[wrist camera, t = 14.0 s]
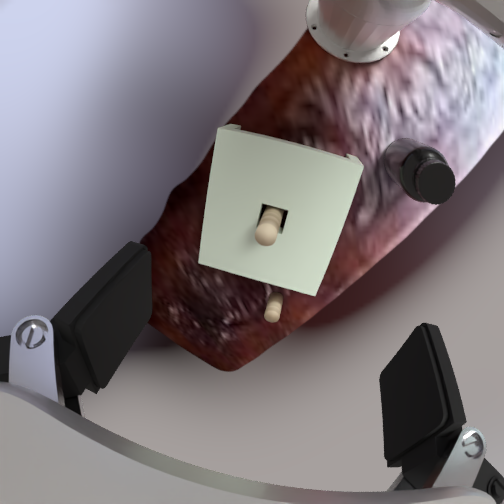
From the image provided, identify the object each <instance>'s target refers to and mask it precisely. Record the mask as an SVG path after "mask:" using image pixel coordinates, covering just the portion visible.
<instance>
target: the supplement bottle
mask: <svg viewBox="0 0 504 504" xmlns="http://www.w3.org/2000/svg"><path fill="white" fill-rule="evenodd" d="M384 164H385V169H386V171H387V173H388V175H389V176H390V177H391V179H392V180H393V181H394V182H395V183H396V184H397V185H398V186H399V187H400V188H401V189H402V190H403V191H404V192H405V193H406V194H407V195H408V196H409V197H410V198H412V199H413V200H415V201H418V202H428V203H431V204H435V205H437V204H441V203H444V202H446V201H447V200H448V199H449V198H450V197H451V196H452V193H453V192H454V189H455V176H454V174H453V171H452V170H451V168H450V167H449V166H448V163H447V161H446V159H445V157H444V156H443V155H442V154H441V153H440V152H439V151H438V150H436V149H434V148H432V147H430V146H428V145H425V144H423V143H420V142H418V141H415V140H413V139H409V138H401V139H398V140H396V141H394V142H393V143H392V144H391V145H390V146H389V147H388V149H387V150H386V153H385V157H384Z"/></svg>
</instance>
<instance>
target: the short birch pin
mask: <svg viewBox="0 0 504 504" xmlns="http://www.w3.org/2000/svg"><path fill="white" fill-rule="evenodd" d="M282 303H283V295H282V294H281V293H279V292H273V293H271V294H270V296H269V299H268V303H267V307H266V311H265V314H264V318H265V319H266V320H267V321H269V322H276V321H278V320H279V317H280V312H281V307H282Z"/></svg>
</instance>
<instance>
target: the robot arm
mask: <svg viewBox="0 0 504 504" xmlns="http://www.w3.org/2000/svg"><path fill="white" fill-rule="evenodd" d="M435 1H436V2H438V3H440V4H442V5H445V6H446V7H448V8H450V9H451V10H453V11H454V12H456V13H457V14H459V15H460V16H462V17H463V18H464V19H466V20H467V21H469V22H470V23H471V24H473V25H474V26H476V27H477V28H478V29H480V30H481V31H482V32H483V33H485V34H486V35H487V36H488V37H490V38H491V39H492V40H493V41H495V42H496V43H497V44H498V45H499V46H501V47H502V48H503V49H504V0H435ZM430 3H431V0H310V1H309V3H308V6H307V9H306V22H307V27H308V29H309V32H310V34H311V36H312V37H313V39H314V40H315V41H316V43H317V44H318V45H319V46H320V47H321V48H322V49H324V50H325V51H326V52H328V53H329V54H331V55H333V56H335V57H336V58H339V59H341V60H344V61H348V62H353V63H369V62H374V61H377V60H380V59H382V58H384V57H385V56H387V55H388V54H390V53H391V52H392V50H393V49H394V48H395V47H396V44H397V42H398V40H399V35H400V30H401V29H403V28H404V27H406V26H407V25H408V24H410V23H411V22H413V21H414V20H415V19H416V18H418V17H419V16H420V15H422V14H423V13H424V12H425V11H426V10H427V8H428V7H429V5H430ZM313 27H315V28H316V30H313V29H312V28H313ZM383 48H384V49H385V50H386V51H383ZM344 54H347V55H348V57H345V56H344ZM151 314H152V288H151V253H150V252H149V251H147V247H146V246H145V245H142V244H139V243H135V242H132V241H130V242H129V243H127V244H126V245H125V246H124V247H123V248H122V249H121V250H120V251H119V252H118V253H117V254H115V255H114V256H113V257H112V258H111V259H110V260H109V261H108V262H107V263H106V264H105V265H104V266H103V267H102V268H101V269H100V270H99V271H98V272H97V273H96V274H95V275H94V276H93V277H92V278H91V279H90V280H89V281H88V282H87V283H86V284H85V285H84V286H83V287H82V288H81V289H80V290H79V291H78V292H77V293H76V294H75V295H74V296H73V297H72V298H71V299H70V300H69V301H68V302H67V303H66V304H65V305H64V306H63V307H62V308H61V310H60V311H59V312H58V313H57V314H56V315H55V316H54V318H53V319H51V321H49V320H48V319H46V318H45V317H42V316H39V315H32V316H28V317H25V318H23V319H22V320H20V321H19V322H18V323H17V324H16V325H15V327H14V329H13V331H12V334H11V335H9V336H4V337H0V504H504V478H503V476H502V475H501V474H500V473H499V472H498V471H497V470H496V469H495V468H494V467H493V466H492V465H491V464H490V463H489V462H488V461H487V460H486V459H485V458H484V457H485V453H486V442H485V438H484V436H483V435H482V433H481V432H480V431H479V430H478V429H477V428H475V427H466V428H465V429H463V430H462V425H463V424H465V423H466V417H465V413H464V409H463V405H462V400H461V397H460V393H459V389H458V385H457V382H456V378H455V375H454V372H453V368H452V365H451V362H450V359H449V356H448V353H447V350H446V347H445V344H444V341H443V338H442V335H441V333H440V330H439V328H438V326H436V325H432V324H428V323H422V324H421V325H420V326H417V327H416V328H415V329H414V331H413V332H412V333H411V335H410V336H409V338H408V339H407V340H406V342H405V343H404V344H403V346H402V347H401V348H400V350H399V351H398V352H397V354H396V355H395V356H394V357H393V359H392V360H391V361H390V362H389V363H388V365H387V366H386V367H385V369H384V370H383V371H382V372H381V374H380V379H379V382H380V392H381V403H382V415H383V416H382V417H383V435H384V457H385V459H386V460H387V467H401V466H402V472H401V473H400V475H399V476H398V477H397V479H396V480H395V481H394V482H393V484H392V485H391V486H390V487H389V489H388V490H387V491H385V492H341V491H323V490H312V489H303V488H294V487H286V486H280V485H274V484H268V483H263V482H257V481H252V480H247V479H243V478H239V477H234V476H230V475H227V474H223V473H219V472H215V471H212V470H208V469H204V468H201V467H198V466H195V465H192V464H189V463H186V462H182V461H180V460H177V459H174V458H171V457H169V456H166V455H163V454H161V453H158V452H156V451H153V450H151V449H148V448H146V447H143V446H141V445H139V444H137V443H134V442H132V441H130V440H128V439H126V438H123V437H121V436H119V435H117V434H115V433H113V432H111V431H109V430H106V429H105V428H103V427H101V426H99V425H97V424H95V423H93V422H91V421H89V420H87V419H86V418H85V414H84V409H83V404H82V398H81V395H82V393H83V392H84V390H85V389H88V390H90V391H92V392H94V393H95V394H97V392H98V391H99V389H100V388H102V389H103V388H105V387H106V386H107V384H108V382H109V381H110V379H111V378H112V376H113V374H114V373H115V371H116V370H117V368H118V366H119V365H120V363H121V362H122V360H123V359H124V357H125V356H126V354H127V352H128V350H129V349H130V348H131V346H132V345H133V343H134V342H135V340H136V338H137V337H138V336H139V334H140V332H141V331H142V329H143V328H144V326H145V325H146V323H147V322H148V320H149V319H150V317H151Z"/></svg>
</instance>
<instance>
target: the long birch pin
mask: <svg viewBox="0 0 504 504" xmlns="http://www.w3.org/2000/svg"><path fill="white" fill-rule="evenodd" d="M283 213H284V209H281V208H278V207H274V206H270V205H267V207H266V209H265V211H264V213H263V216H262V218H261V220H260V223H259V225H258V227H257V230H256V232H255V239H256V241H257V242H258V243H259V244H260V245H262V246H271V245H273V244H274V243H275V241H276V238H277V235H278V231H279V227H280V224H281V220H282V216H283Z"/></svg>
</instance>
